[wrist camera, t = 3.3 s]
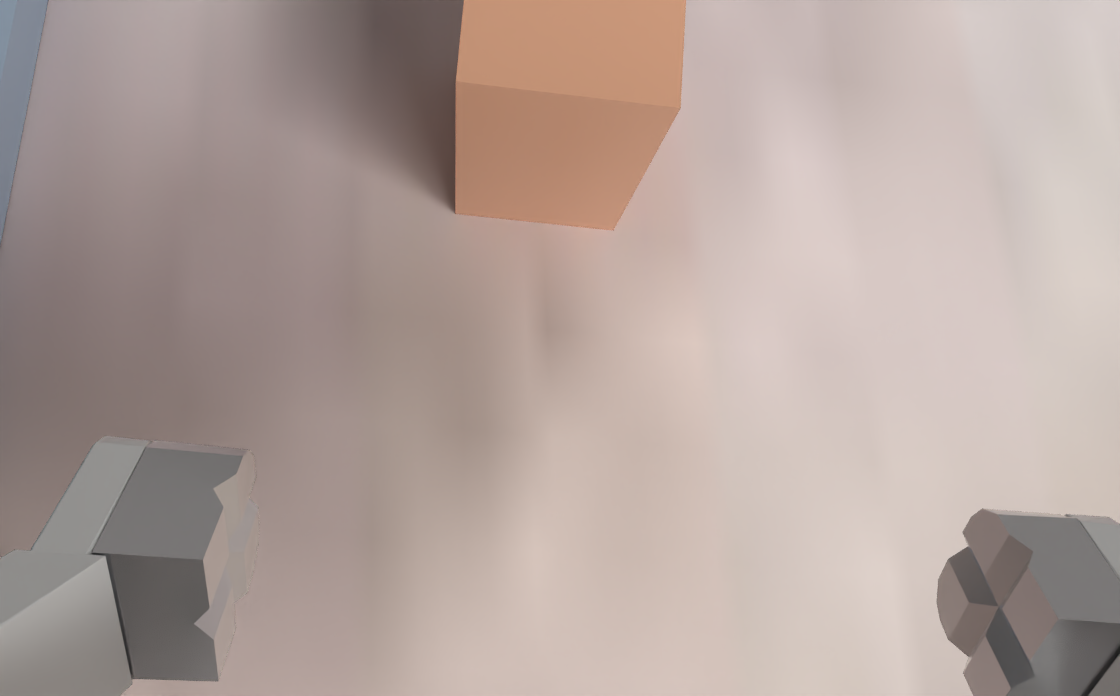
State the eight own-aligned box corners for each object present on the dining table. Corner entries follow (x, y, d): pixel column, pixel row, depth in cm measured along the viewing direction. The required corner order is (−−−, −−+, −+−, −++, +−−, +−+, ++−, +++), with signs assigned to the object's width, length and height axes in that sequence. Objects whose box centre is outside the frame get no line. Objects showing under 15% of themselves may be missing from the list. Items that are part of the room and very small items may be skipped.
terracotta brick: (613, 230, 26) (680, 108, 18) (455, 214, 26) (455, 81, 18) (622, 84, 27) (690, -92, 19) (469, 65, 27) (476, -122, 19)
